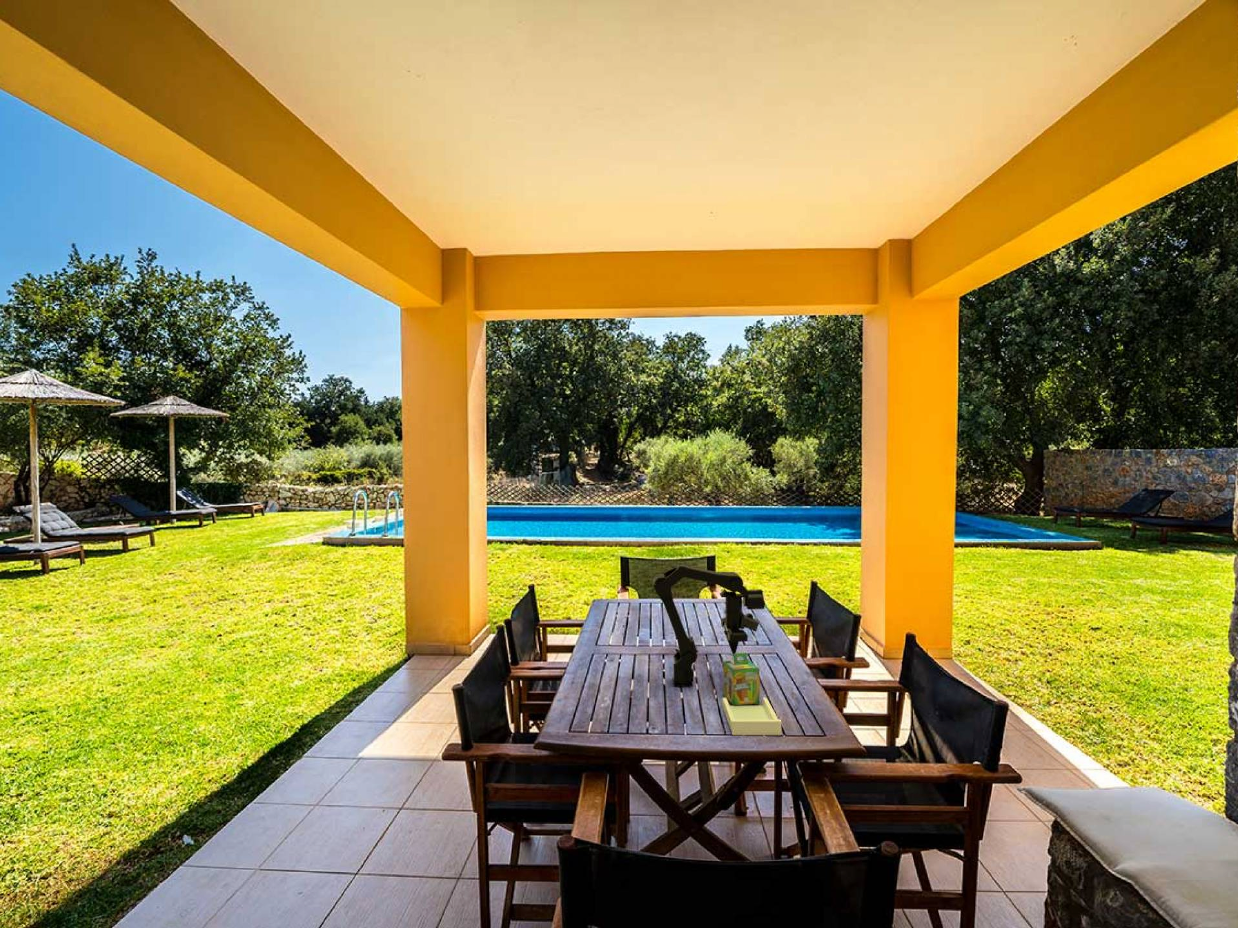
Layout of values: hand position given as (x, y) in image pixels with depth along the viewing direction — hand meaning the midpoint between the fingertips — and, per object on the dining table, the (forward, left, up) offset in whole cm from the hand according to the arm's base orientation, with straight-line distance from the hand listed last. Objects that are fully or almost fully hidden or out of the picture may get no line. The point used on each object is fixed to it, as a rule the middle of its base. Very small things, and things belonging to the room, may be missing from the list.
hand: (733, 653), depth 206 cm
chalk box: (0, -14, -10) cm, 18 cm away
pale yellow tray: (0, -28, -10) cm, 29 cm away
